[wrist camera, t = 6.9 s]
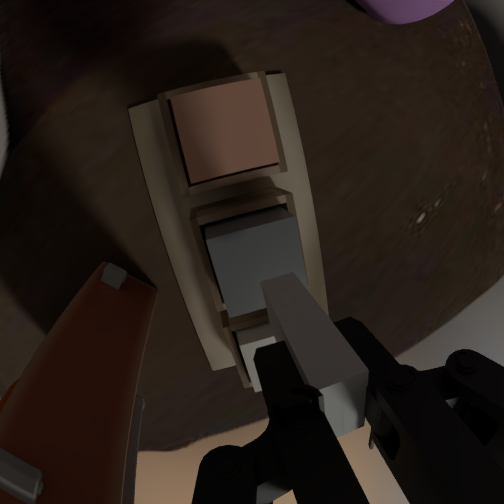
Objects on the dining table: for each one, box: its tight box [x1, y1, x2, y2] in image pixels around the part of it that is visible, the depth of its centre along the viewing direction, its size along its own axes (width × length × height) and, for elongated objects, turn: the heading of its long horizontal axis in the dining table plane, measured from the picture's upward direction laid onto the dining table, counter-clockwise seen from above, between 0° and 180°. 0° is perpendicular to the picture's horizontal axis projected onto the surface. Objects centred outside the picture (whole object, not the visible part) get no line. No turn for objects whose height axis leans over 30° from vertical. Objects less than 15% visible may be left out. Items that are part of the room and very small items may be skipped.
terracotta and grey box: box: [0, 261, 158, 504], centre depth 13 cm, size 21×7×15 cm
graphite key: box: [205, 205, 308, 318], centre depth 18 cm, size 5×5×4 cm
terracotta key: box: [170, 78, 280, 184], centre depth 16 cm, size 5×5×4 cm
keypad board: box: [128, 71, 329, 388], centre depth 21 cm, size 12×24×4 cm, turn 13°
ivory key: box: [236, 321, 276, 392], centre depth 22 cm, size 5×5×4 cm
